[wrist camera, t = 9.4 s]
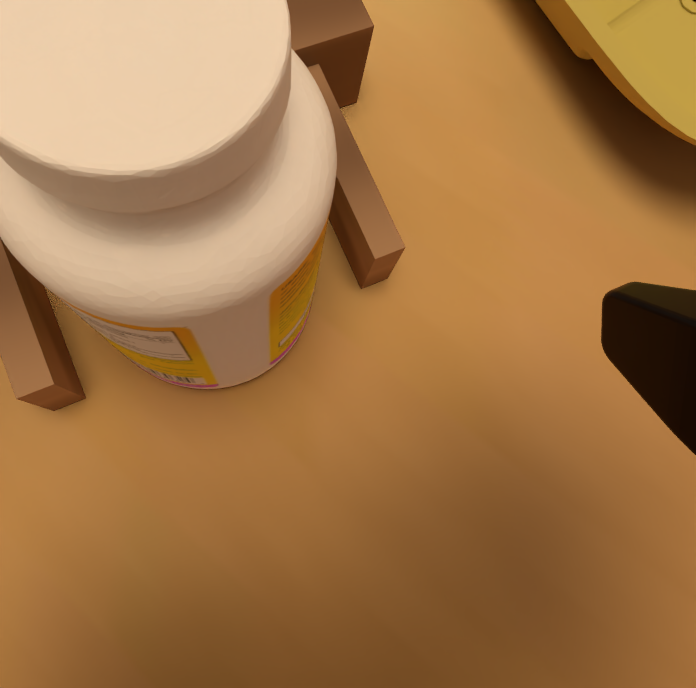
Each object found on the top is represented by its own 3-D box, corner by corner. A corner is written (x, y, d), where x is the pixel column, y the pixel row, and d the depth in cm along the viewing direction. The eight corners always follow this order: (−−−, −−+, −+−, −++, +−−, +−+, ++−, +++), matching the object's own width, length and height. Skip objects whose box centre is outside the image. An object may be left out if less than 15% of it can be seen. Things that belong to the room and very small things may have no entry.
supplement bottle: (275, 178, 22) (282, -214, 10) (338, 355, 21) (436, 169, 9) (80, 230, 21) (-195, -142, 9) (136, 421, 20) (-86, 314, 7)
